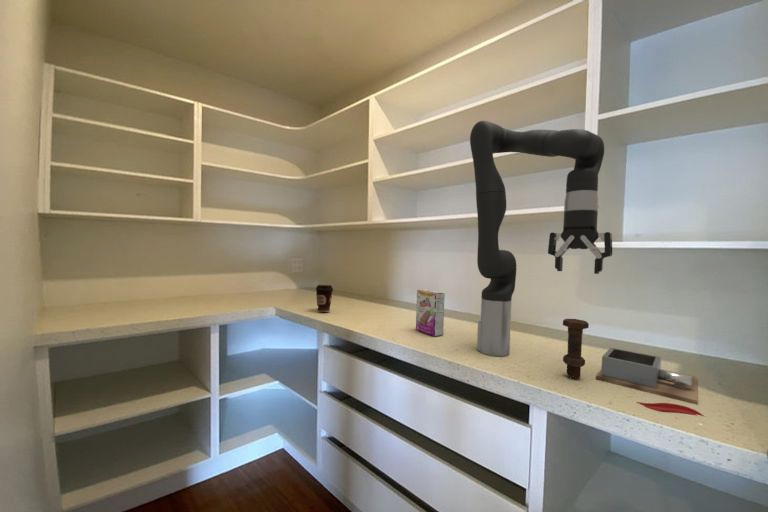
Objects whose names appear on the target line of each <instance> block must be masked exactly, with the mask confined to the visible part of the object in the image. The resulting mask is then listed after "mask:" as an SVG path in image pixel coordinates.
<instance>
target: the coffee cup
mask: <svg viewBox="0 0 768 512" xmlns="http://www.w3.org/2000/svg"><path fill="white" fill-rule="evenodd" d="M315 290H316V291H315V292H316V306H317V309H316V310H317V312H324V313H325V312H327V313H328V312H331V309H330V308H331V305H332V304H331V303H332V298H333V296H332V294H333V291H334V288H333V286H332V285H331V284H317V286H316V288H315Z"/></svg>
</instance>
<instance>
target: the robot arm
mask: <svg viewBox="0 0 768 512" xmlns="http://www.w3.org/2000/svg"><path fill="white" fill-rule="evenodd" d="M469 144H470V149H471V150H470V151H471V156H472V161H473V168H474V169H473V171H474V181H475V182H474V183H475V198H476V199H475V200H476V203H475V204H476V211H477V212H476V213H477V214H476V215H477V235H478V236H477V260H476V261H477V269H478V271H479V274H480V275H481V276H482V277H483V278H484V279H489V280H490V281H489V283H488V285H487V286H486V287H485V288H483V289H482V290H481V297H480V298H481V300H480V301H481V302H480V303H481V304H480V320H479V321H477V337H476V338H477V339H476V340H477V341H476V351H479V352H480V353H482V354H484V355H487V356H491V357H508V356H509V355H510V352H511V351H510V350H511V345H510V344H511V323H512V322H511V320H512V297H513V295H514V292H515V289H516V280H517V260H516V257H515V255H514V254H513V253H512V252H511V251H509V250H505V249H500V247H499V232H500V228H501V226H502V222H503V220H504V218H505V216H506V211H507V194H506V187H505V183H504V182H503V179H502V176H501V175H500V173H499V171H498V169H497V167H496V163H495V160H494V154H502V153H521V154H528V155H532V156H541V157H548V158H549V157H550V158H551V157H554V158H555V157H565V158H570V159H573V160H574V162H575V163H574V167H573V169H572V170H570V171H569V172H568V174H566V176H567V177H566V185H565V187H566V188H565V197H564V202H563V203H564V204H563V205H564V206H563V223H562V224H563V225H562V226H563V227H562V228H563V229H562V230H563V231H562V232H561V233H558V232H550V233H549V236H548V238H549V239H548V247H547V254H549V255H551V256H554V268H555V269H556V270H557V272H562V271H563V265H564V264H563V263H564V260H563V259H564V258H563V255H565V253H566V252H568V251H569V250H570V249H571V250H578V249H580V250H589V251H590V252H591V253H592V254H593V255H594V256H595V259H594V271H593V272H594V275H595V274H597V275H599V274H600V273H601V272H602V271H603V269H604V267H603V265H604V259H605V258H609V257H612V256H613V234H612V233H611V232H610V231H606V232H599V231H598V214H599V196H598V191H599V189H598V187H599V173H600V171H601V167H602V164H603V160H604V155H605V144H604V141H603V139H602V137H600V136H599V135H598V134H596V133H593V132H591V131H589V130H587V129H580V128H579V129H578V128H573V129H572V128H570V129H561V130H557V129H555V130H554V129H532V130H531V129H530V130H526V131H515V130H510V129H508V128H504V127H502V126H500V125H499V124H496V123H493V122H491V121H489V120H480V121H478V122H476V123H475V124H474V125H473V127H472V129H471V131H470V136H469ZM560 238H561V240H562V241H563V243H562V245H560V246H559V249H557V242H558V241H559V240H560ZM599 238H600V240H601V241H602V242H604V252H602V251H600V248H598V247H597V245H596V244H595V243H596V241H597V240H598V239H599ZM556 250H557V251H556Z"/></svg>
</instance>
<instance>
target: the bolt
mask: <svg viewBox="0 0 768 512" xmlns="http://www.w3.org/2000/svg"><path fill="white" fill-rule="evenodd" d="M562 326H565V327H567V335H568V336H567V337H568V338H567V352H566V354H565V355H563V357H562V362H563V363H564V364H566V375H567V376H568V378H569V379H574V380H579V379H580V378H581V370H582V369H581V367H584V366H585V365H586V360H585V358H584V357H582V347H583V346H582V345H583V334H584V333H583V332H584V330H586V329H589V323H588V321H586V320H583V319H579V318H578V319H577V318H564V319H563V320H562Z"/></svg>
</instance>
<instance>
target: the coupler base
mask: <svg viewBox="0 0 768 512" xmlns="http://www.w3.org/2000/svg"><path fill="white" fill-rule="evenodd" d="M661 370H664V371H669V372H673V373H678V374H683V375H688V376H692V387H690V386H686V391H685V390H681V389H677V388H674V383H672V382H668V381H664V380H659V382H658V385H657V389H653V388H649V387H645V386H641V385H637V384H633V383H629V382H625V381H621V380H617V379H613V378H608V377H604V376H601V371H602V368H601V369H600V370H599V372H597V374H596V375H595V380H597V381H601V382H605V383H609V384H613V385H617V386H621V387H624V388H625V387H626V388H629V389H633V390H635V391H636V390H637V391H640V392H645V393H647V394H648V393H649V394H653V395H656V396H660V397H664V398H665V397H666V398H669V399H673V400H677V401H681V402H685V403H689V404H693V405H697V406H698V377H697V376H693V375H690V374H686V373H681V372H676V371H672V370H667V369H662V368H661Z"/></svg>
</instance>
